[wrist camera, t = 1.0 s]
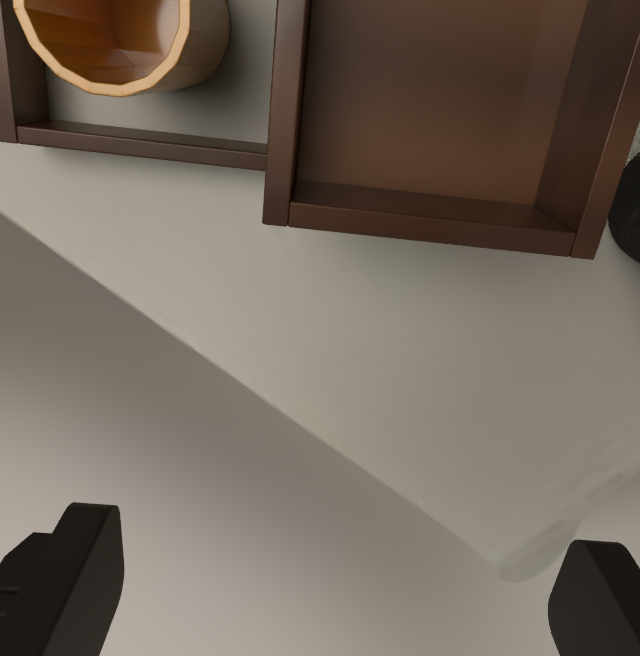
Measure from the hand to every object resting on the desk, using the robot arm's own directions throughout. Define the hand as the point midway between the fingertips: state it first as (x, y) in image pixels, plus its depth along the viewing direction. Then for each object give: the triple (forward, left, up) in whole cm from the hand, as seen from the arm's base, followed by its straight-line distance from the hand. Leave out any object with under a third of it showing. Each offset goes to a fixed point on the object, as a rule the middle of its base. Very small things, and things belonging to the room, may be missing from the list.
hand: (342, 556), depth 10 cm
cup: (-9, -9, -23) cm, 26 cm away
